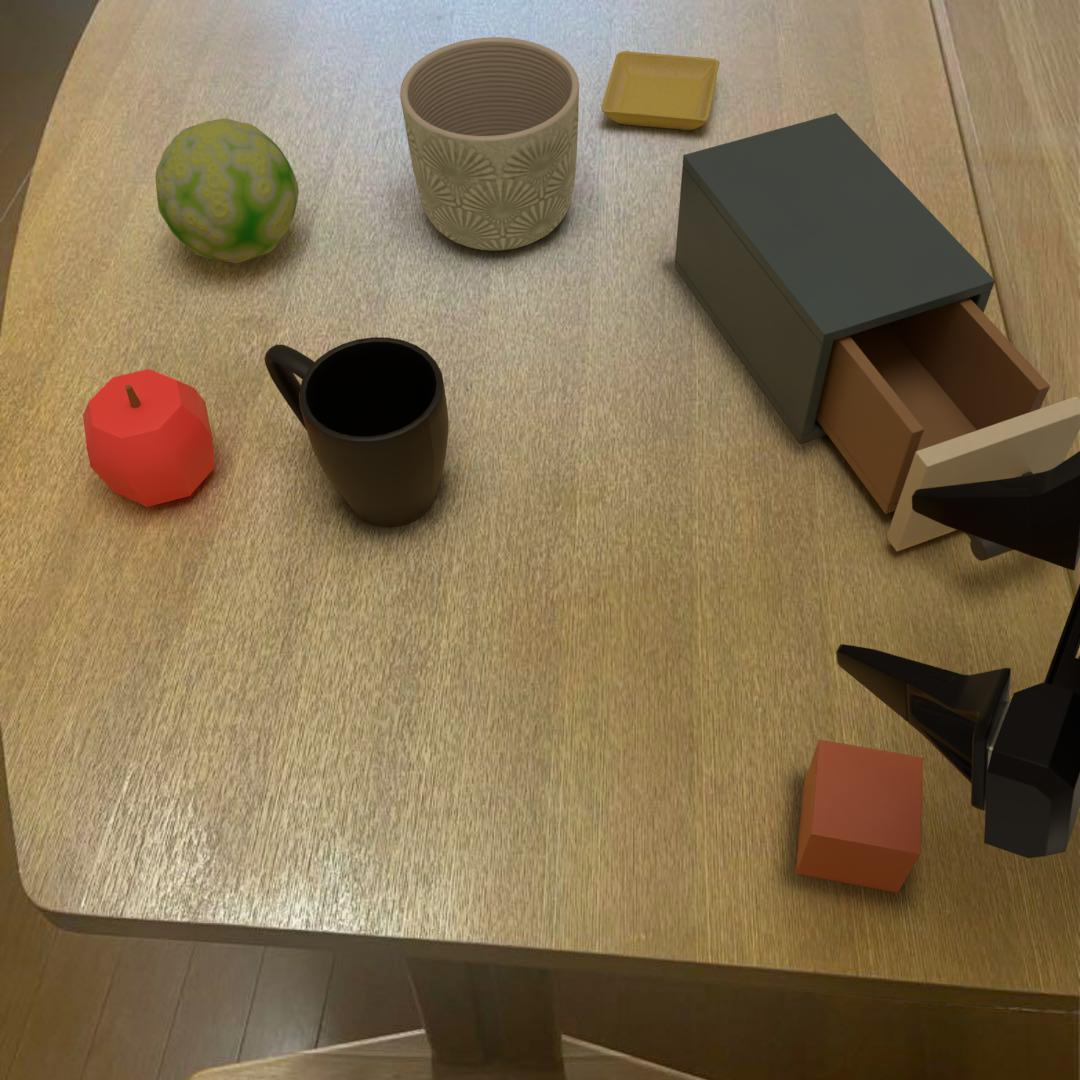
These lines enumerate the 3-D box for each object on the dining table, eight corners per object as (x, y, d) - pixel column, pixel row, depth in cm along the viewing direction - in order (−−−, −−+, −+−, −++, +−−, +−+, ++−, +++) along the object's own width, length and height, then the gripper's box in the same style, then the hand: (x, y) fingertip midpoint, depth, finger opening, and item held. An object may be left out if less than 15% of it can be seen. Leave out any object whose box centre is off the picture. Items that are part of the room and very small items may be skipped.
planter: (581, 266, 87) (581, 136, 78) (412, 270, 87) (393, 142, 78) (577, 162, 94) (577, 33, 86) (421, 166, 95) (405, 38, 86)
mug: (340, 401, 80) (314, 293, 72) (484, 478, 75) (472, 371, 68) (256, 480, 76) (219, 374, 68) (402, 566, 71) (380, 463, 64)
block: (901, 800, 62) (923, 757, 57) (897, 893, 59) (921, 854, 55) (803, 782, 62) (818, 738, 58) (795, 873, 59) (810, 834, 55)
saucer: (706, 142, 95) (708, 119, 94) (599, 132, 97) (599, 109, 95) (718, 81, 100) (720, 58, 99) (617, 72, 102) (617, 49, 100)
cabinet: (955, 392, 78) (995, 280, 71) (799, 444, 76) (824, 334, 68) (814, 225, 89) (836, 112, 81) (674, 267, 87) (682, 154, 79)
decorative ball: (243, 310, 85) (208, 194, 77) (150, 256, 89) (107, 141, 81) (337, 236, 90) (313, 120, 82) (244, 189, 93) (213, 73, 85)
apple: (81, 469, 77) (35, 382, 70) (189, 409, 80) (155, 320, 73) (141, 544, 73) (98, 460, 66) (252, 478, 76) (221, 391, 69)
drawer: (1088, 548, 70) (1139, 462, 63) (935, 606, 67) (971, 522, 61) (891, 314, 82) (916, 222, 75) (755, 357, 80) (770, 266, 73)
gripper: (1385, 343, 43) (946, 290, 50) (1294, 761, 33) (772, 616, 41) (1317, 549, 50) (946, 476, 58) (1228, 935, 41) (800, 786, 49)
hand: (877, 573), depth 51 cm, fingers open, 9 cm apart
